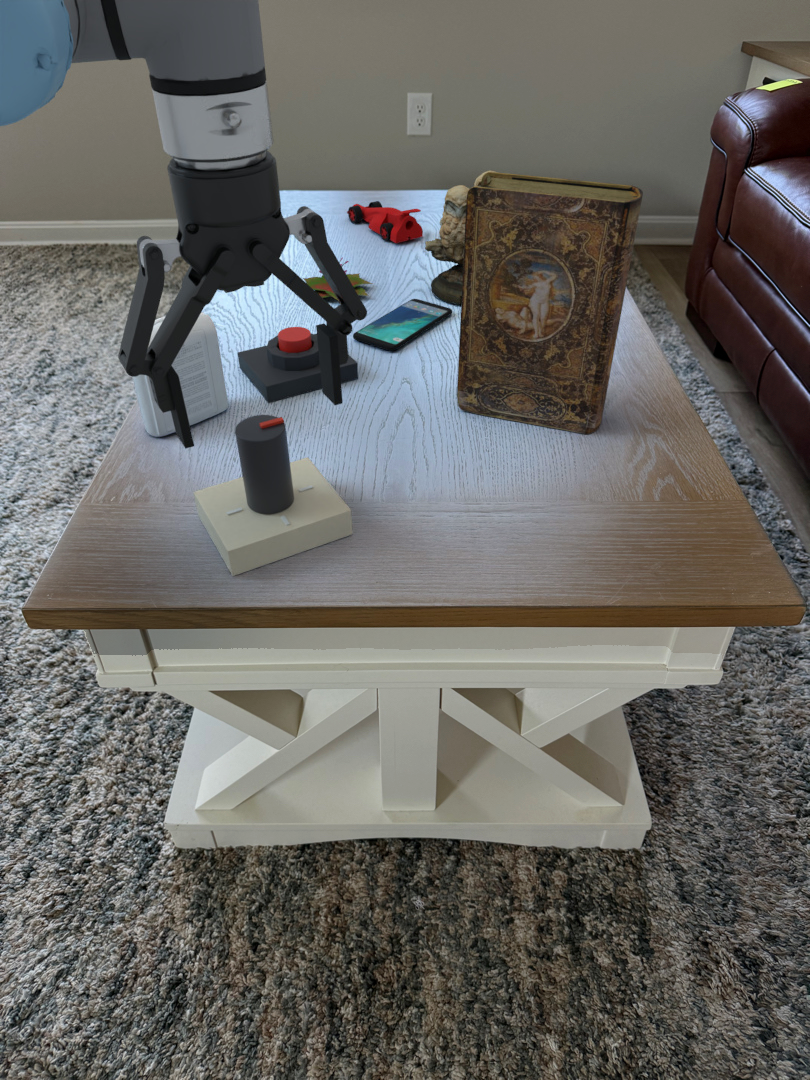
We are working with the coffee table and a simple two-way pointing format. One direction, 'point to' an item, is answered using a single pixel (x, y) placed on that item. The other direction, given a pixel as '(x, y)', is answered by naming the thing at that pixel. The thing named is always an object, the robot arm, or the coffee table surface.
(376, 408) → the coffee table surface
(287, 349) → the power button
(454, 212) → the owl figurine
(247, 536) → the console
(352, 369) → the power box
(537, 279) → the book
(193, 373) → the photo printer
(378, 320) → the smartphone
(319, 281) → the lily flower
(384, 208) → the toy car
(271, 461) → the dial
